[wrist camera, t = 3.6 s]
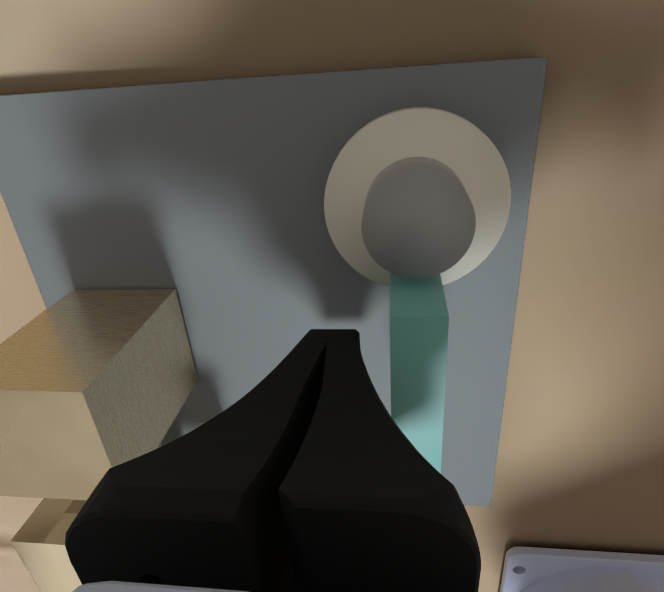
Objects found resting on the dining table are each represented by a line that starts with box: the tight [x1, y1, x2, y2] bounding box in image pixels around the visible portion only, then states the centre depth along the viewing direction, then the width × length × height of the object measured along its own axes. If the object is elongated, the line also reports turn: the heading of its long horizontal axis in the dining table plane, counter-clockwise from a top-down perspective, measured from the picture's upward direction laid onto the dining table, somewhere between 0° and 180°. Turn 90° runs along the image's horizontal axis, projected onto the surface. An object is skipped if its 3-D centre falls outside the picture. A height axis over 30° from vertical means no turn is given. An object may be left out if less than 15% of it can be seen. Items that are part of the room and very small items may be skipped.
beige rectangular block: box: [0, 289, 198, 500], centre depth 15 cm, size 9×4×5 cm, turn 4°
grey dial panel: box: [0, 57, 548, 592], centre depth 13 cm, size 15×15×6 cm
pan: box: [324, 107, 511, 474], centre depth 11 cm, size 8×4×3 cm, turn 4°
